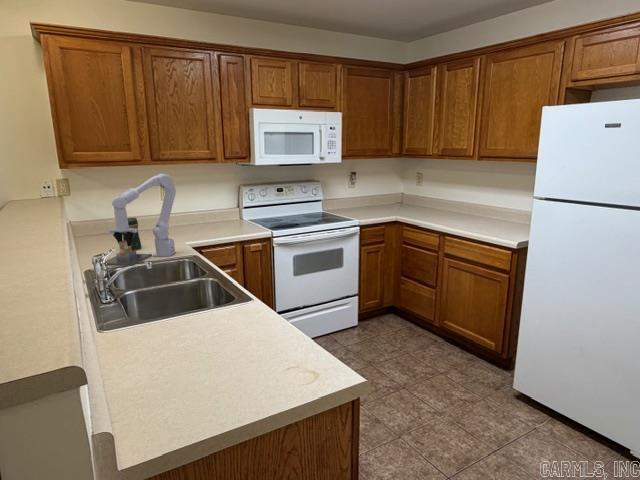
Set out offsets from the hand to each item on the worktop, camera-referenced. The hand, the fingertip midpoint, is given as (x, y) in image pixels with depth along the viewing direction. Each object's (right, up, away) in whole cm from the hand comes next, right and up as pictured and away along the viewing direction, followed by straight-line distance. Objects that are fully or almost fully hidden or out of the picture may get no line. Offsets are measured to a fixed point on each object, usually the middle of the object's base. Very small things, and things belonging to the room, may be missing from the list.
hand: (125, 246), depth 214 cm
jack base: (0, -8, +2) cm, 8 cm away
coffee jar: (-8, -2, +26) cm, 28 cm away
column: (0, -4, +1) cm, 4 cm away
